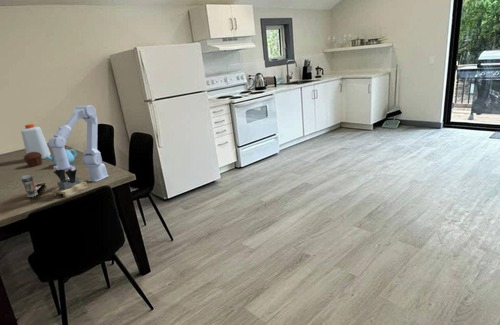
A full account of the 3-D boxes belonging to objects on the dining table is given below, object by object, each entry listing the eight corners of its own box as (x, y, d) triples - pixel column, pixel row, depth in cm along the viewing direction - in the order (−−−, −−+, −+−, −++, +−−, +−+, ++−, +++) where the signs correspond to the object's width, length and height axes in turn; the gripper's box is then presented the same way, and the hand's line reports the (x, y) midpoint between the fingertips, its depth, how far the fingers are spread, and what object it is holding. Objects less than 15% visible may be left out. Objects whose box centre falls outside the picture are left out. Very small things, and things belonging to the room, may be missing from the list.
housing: (76, 181, 182) (73, 173, 180) (82, 182, 180) (79, 174, 178) (56, 190, 171) (53, 181, 170) (62, 190, 169) (60, 182, 168)
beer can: (28, 198, 172) (20, 178, 168) (27, 196, 176) (20, 176, 172) (38, 196, 175) (31, 175, 171) (37, 193, 178) (31, 173, 175)
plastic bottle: (31, 158, 264) (20, 125, 256) (51, 154, 270) (41, 121, 261) (27, 162, 251) (15, 127, 242) (49, 158, 257) (38, 124, 248)
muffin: (29, 168, 233) (25, 155, 230) (24, 166, 239) (19, 154, 236) (47, 163, 242) (43, 150, 239) (41, 161, 248) (37, 149, 245)
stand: (75, 185, 184) (74, 180, 184) (88, 186, 180) (86, 181, 180) (53, 195, 172) (52, 190, 172) (66, 197, 168) (64, 191, 167)
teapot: (78, 159, 245) (73, 144, 241) (81, 163, 232) (76, 147, 228) (48, 165, 235) (43, 150, 231) (49, 170, 221) (44, 154, 218)
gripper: (45, 160, 170) (53, 184, 174) (64, 161, 164) (71, 185, 168) (57, 156, 176) (64, 179, 180) (75, 157, 170) (82, 180, 174)
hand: (68, 182), depth 175 cm, fingers open, 7 cm apart
